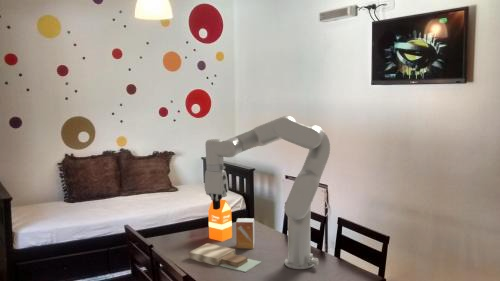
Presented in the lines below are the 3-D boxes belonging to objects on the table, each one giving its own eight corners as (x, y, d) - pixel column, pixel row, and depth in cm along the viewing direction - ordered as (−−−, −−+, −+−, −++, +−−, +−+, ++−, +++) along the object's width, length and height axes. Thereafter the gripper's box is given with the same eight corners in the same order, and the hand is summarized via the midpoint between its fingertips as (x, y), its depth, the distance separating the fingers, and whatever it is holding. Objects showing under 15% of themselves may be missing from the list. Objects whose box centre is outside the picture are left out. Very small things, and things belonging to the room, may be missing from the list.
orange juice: (222, 241, 232) (221, 202, 229) (209, 238, 237) (207, 199, 234) (232, 237, 238) (231, 198, 235) (219, 233, 243) (217, 196, 241)
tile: (247, 261, 204) (247, 257, 204) (238, 267, 198) (238, 262, 198) (230, 257, 209) (230, 253, 209) (221, 263, 203) (221, 258, 203)
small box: (236, 248, 222) (235, 221, 220) (238, 244, 228) (237, 217, 226) (253, 248, 221) (253, 222, 219) (254, 244, 227) (254, 218, 225)
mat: (261, 262, 204) (261, 261, 204) (245, 272, 194) (245, 271, 194) (235, 256, 212) (235, 255, 212) (219, 265, 202) (219, 264, 202)
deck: (235, 256, 212) (235, 249, 212) (217, 265, 202) (217, 258, 201) (207, 249, 221) (207, 243, 221) (189, 258, 210) (189, 251, 210)
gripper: (234, 167, 203) (235, 208, 206) (207, 165, 212) (208, 204, 214) (223, 170, 197) (225, 213, 200) (196, 167, 205) (198, 208, 208)
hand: (216, 208), depth 207 cm, fingers closed
